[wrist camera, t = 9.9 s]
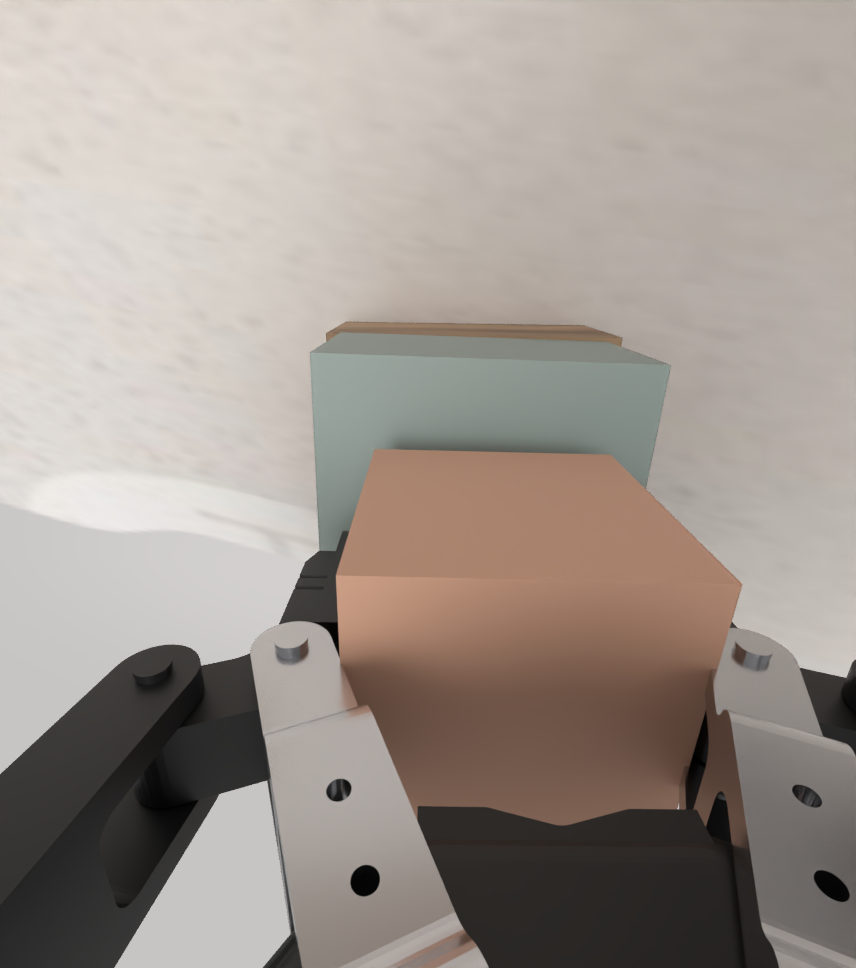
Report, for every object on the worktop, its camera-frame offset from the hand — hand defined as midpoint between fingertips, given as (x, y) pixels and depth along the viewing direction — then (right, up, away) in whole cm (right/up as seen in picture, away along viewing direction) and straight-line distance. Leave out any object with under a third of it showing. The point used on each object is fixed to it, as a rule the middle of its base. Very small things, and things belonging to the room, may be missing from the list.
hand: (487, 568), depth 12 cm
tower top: (0, +3, +7) cm, 7 cm away
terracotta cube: (0, 0, +1) cm, 1 cm away
